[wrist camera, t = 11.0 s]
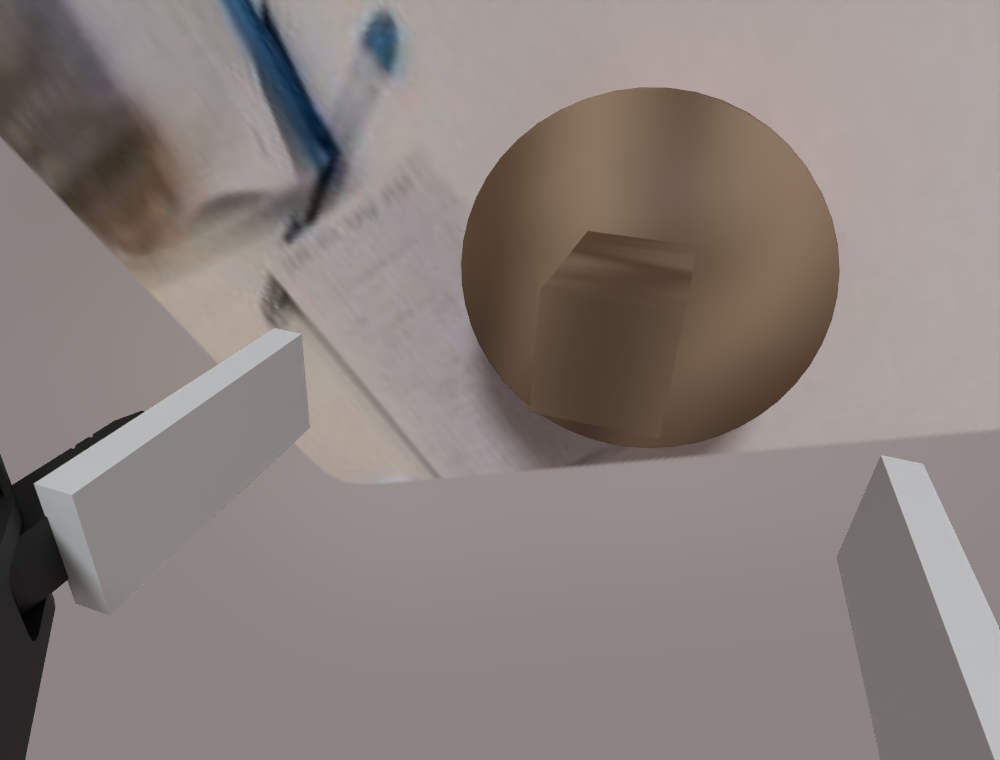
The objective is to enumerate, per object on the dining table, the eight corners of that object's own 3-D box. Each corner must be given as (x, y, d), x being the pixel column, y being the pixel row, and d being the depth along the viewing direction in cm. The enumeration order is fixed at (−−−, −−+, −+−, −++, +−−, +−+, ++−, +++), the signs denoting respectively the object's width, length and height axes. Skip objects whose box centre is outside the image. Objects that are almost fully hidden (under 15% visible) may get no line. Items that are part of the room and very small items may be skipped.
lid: (463, 402, 30) (387, 500, 24) (474, 72, 24) (374, 81, 17) (778, 469, 27) (793, 606, 20) (894, 105, 20) (970, 133, 14)
